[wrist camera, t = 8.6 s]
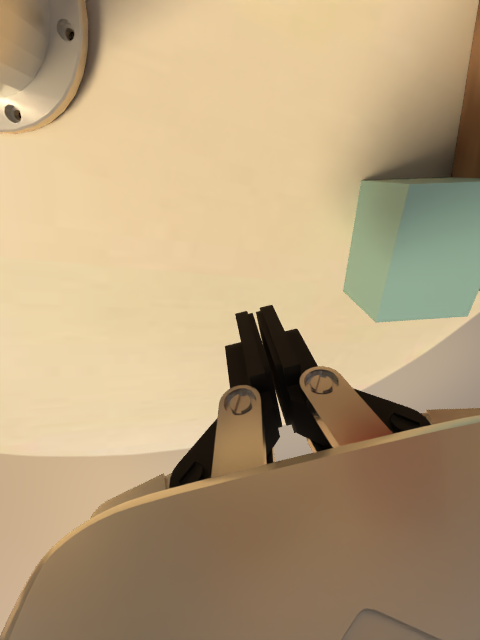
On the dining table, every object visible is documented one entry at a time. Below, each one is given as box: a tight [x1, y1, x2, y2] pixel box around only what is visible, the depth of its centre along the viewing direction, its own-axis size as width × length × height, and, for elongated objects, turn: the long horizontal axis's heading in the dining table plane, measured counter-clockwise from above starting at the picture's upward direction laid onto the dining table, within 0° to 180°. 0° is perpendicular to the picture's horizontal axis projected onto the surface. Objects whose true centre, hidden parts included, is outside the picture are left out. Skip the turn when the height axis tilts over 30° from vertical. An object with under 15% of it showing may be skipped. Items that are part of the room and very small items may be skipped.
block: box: [343, 177, 480, 322], centre depth 20 cm, size 9×7×6 cm
